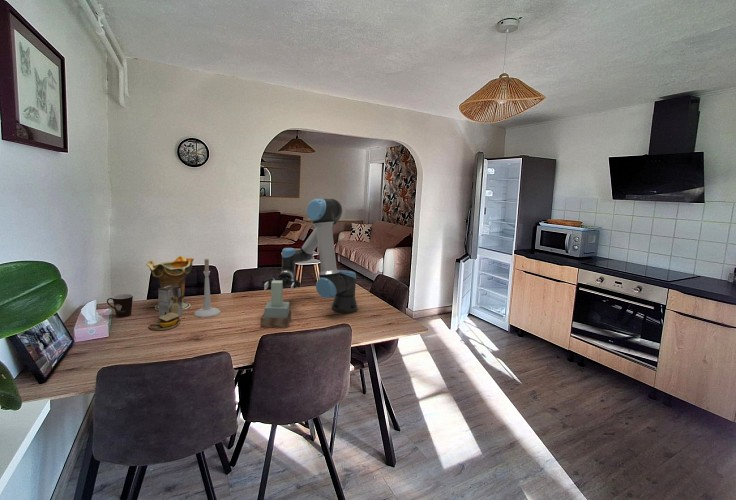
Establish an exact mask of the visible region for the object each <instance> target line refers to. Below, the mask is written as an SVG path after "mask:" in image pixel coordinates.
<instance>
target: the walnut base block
mask: <svg viewBox="0 0 736 500" xmlns="http://www.w3.org/2000/svg"><path fill="white" fill-rule="evenodd" d="M291 320H292V310H290V309H289V314H288V317H287V318H264V313H262V315H261V317H260V324H259V325H260V328H278V329H279V328H281V329H283V328H285V329H288V327H289V324H290V322H291Z"/></svg>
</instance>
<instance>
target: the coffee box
mask: <svg viewBox="0 0 736 500" xmlns="http://www.w3.org/2000/svg"><path fill="white" fill-rule="evenodd" d="M157 294H158V295H157V296H158V299H157V301H158V305H159V310H158V318H159V317H161V316H163V315H166V314H168V313H176V314H178V315H179V317H181V316H183V314H184V313H183V310H182V302H183V301H182V288H181V286H180V285H168V286H165V287H162V288H161V287H159V288H157Z"/></svg>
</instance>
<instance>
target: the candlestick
mask: <svg viewBox="0 0 736 500" xmlns="http://www.w3.org/2000/svg"><path fill="white" fill-rule="evenodd" d="M209 267H210V260H209V258H205V259H204V271H202V272H203V274H204V277H205V278H204V291H203V293H204V294H203V307H202V308H199V309H198V308H197V310H195V311H194V312H193V316H195V317H197V318H213V317H216V316H218V315H220V314H221V310H220V309H219V308H217V307H212V304H211V290H210V289H211V287H210V275H211V274H210V273H211V271H210V268H209Z"/></svg>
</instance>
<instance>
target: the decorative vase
mask: <svg viewBox="0 0 736 500" xmlns="http://www.w3.org/2000/svg"><path fill="white" fill-rule="evenodd" d="M193 262H194V258H192V257H187V258H185V256H183V255H180V256H177V258H176V259H175V260H172V261H165V262H164V261H163V262H158V263H157V262H156V263H155V261H154V260H149V261H147V263H146V266H147V267H148V268H149V270H150V273H151V275H152V277H154V278H158V280H159V281H158V282H159V284H160V288H162V287H165V286H168V285H180V286H181V288H182V311H183V310H186V309H188V308H190V307H191V303H189V302H187V301H184V299H185V288H186V287H185V285H186V277H187V276H188V275H189V274H190V273H191V271H192V268H193ZM154 309H155V310H156V311H159V304H156V305H154Z"/></svg>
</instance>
